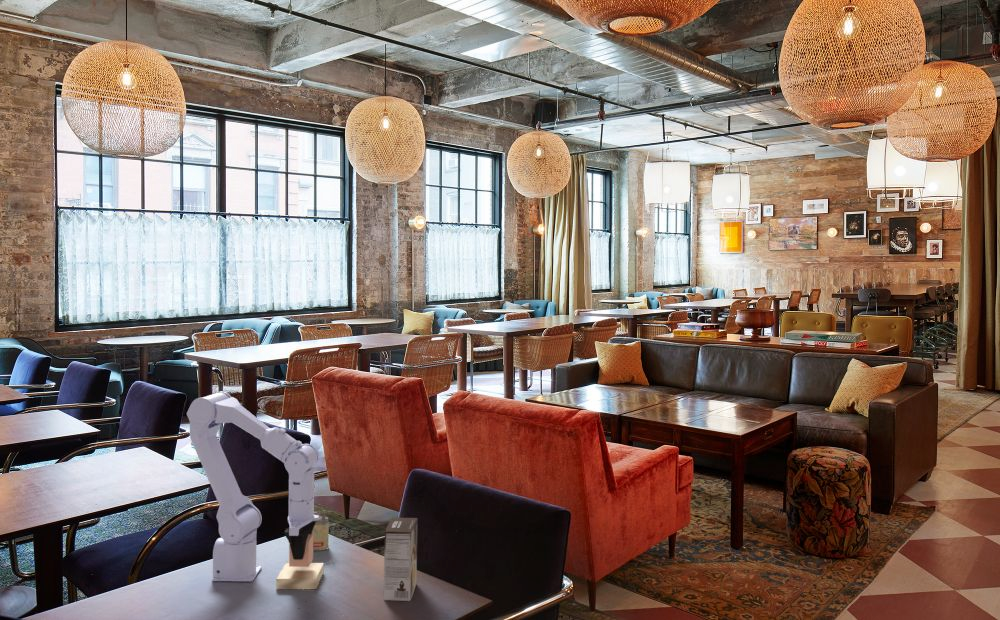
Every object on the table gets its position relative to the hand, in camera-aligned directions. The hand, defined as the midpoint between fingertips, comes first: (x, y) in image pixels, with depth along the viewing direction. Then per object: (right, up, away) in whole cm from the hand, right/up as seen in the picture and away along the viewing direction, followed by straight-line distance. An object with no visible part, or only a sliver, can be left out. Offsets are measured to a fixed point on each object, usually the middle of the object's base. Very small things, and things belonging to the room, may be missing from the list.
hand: (300, 554), depth 173 cm
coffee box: (+24, -8, -4) cm, 25 cm away
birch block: (0, -7, 0) cm, 7 cm away
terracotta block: (0, -2, 0) cm, 2 cm away
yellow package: (-2, -5, +20) cm, 21 cm away
